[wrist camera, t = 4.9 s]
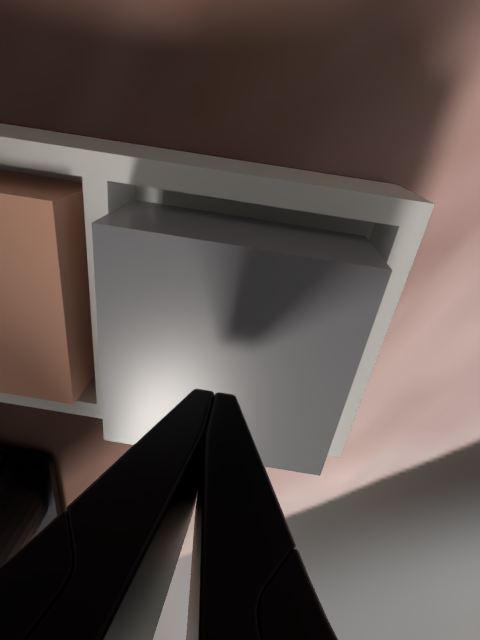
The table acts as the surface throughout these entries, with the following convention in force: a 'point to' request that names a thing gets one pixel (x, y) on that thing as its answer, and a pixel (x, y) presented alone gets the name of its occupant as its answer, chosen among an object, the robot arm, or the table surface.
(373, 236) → the light grey divided tray
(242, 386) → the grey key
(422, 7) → the table surface
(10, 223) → the terracotta key
